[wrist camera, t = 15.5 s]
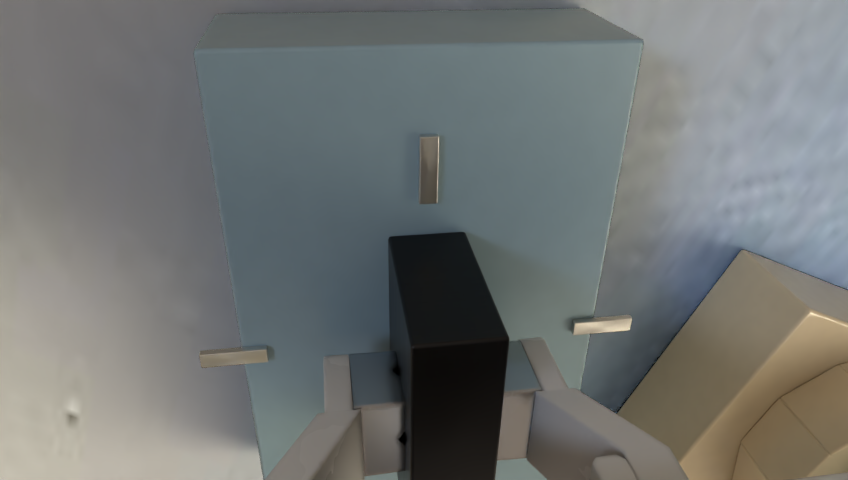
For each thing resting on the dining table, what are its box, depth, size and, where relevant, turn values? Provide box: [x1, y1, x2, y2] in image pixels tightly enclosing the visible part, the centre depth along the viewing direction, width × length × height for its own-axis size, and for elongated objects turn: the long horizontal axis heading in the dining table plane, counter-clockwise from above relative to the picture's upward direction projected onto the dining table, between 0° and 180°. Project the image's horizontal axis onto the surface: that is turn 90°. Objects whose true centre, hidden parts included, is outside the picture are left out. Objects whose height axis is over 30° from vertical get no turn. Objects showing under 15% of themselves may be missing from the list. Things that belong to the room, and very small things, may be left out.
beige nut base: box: [617, 250, 848, 480], centre depth 20 cm, size 11×9×5 cm
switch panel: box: [193, 8, 644, 480], centre depth 16 cm, size 13×10×3 cm
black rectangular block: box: [388, 232, 510, 480], centre depth 13 cm, size 6×2×4 cm, turn 179°
